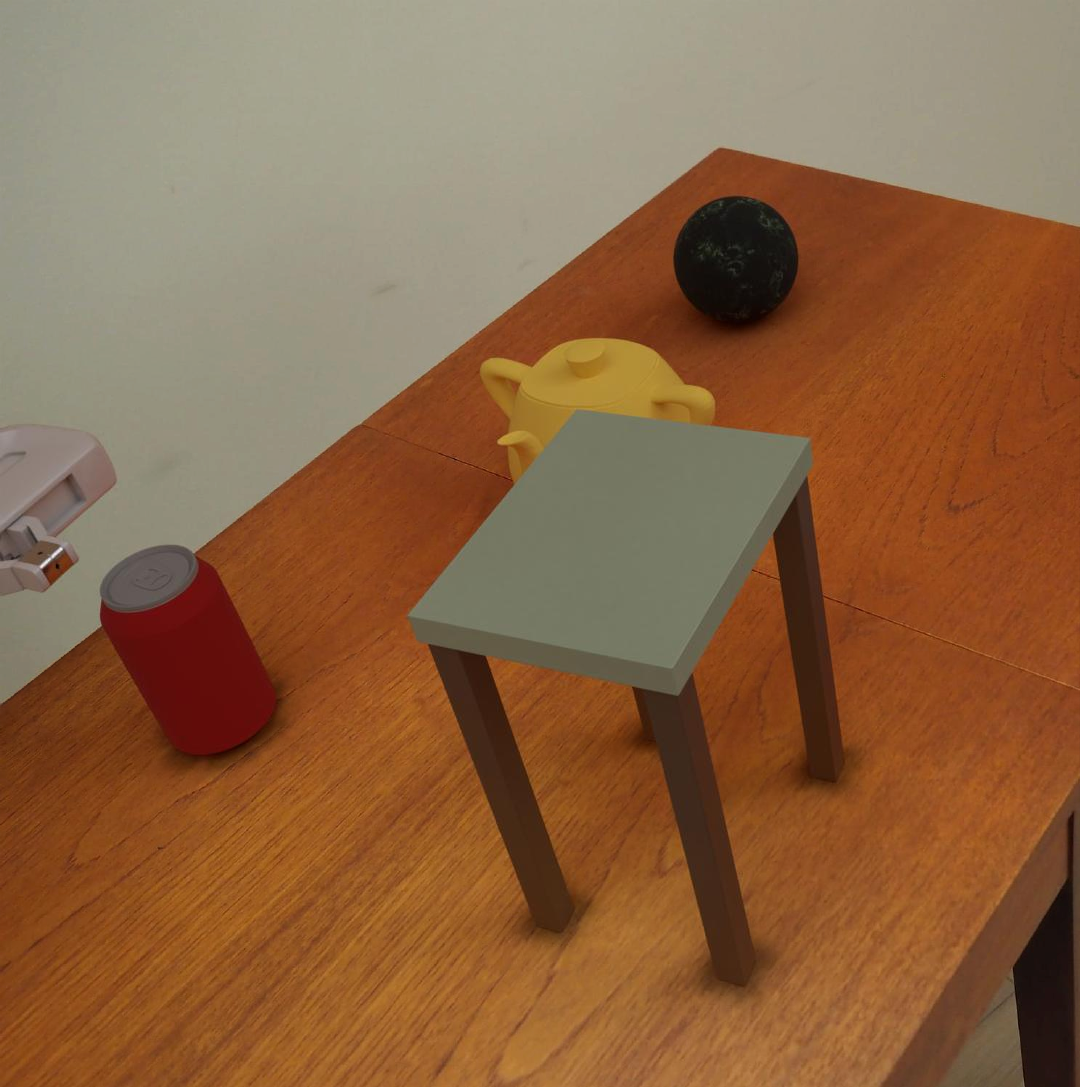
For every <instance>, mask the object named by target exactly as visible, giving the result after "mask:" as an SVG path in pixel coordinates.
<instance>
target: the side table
mask: <svg viewBox="0 0 1080 1087" xmlns="http://www.w3.org/2000/svg"><path fill="white" fill-rule="evenodd" d="M813 466H814V459H813V449H812V442H811V438H810V437H806V436H798V435H789V434H781V433H773V432H766V431H765V432H764V431H757V430H751V429H750V430H749V429H740V428H733V427H725V426H717V425H711V426H709V425H701V424H693V423H685V422H677V421H669V420H661V419H653V418H644V417H636V416H628V415H620V414H612V413H604V412H596V411H588V410H580V409H576V410H575V412H574V413H573V414H572V415H571V416H570V418H569V419H568V420H567V421H566V422H565V424H564V425H563V426H562V427H561V429H560V430H559V431H558V432H557V433H556V435H555V436H554V437H553V438H552V440H551V441H550V442H549V443H548V444H547V446H546V447H545V448H544V449H543V450H542V452H541V453H540V454H539V455H538V457H537V458H536V459H535V460H534V461H533V463H532V464H531V465H530V466H529V468H528V469H527V470H526V471H525V472H524V474H523V475H522V476H521V477H520V479H519V480H518V481H517V482H516V483H515V485H514V484H513V486H512V487H511V488H510V490H509V491H508V492H506V494H505V495H504V496H503V498H502V499H501V500H500V501H499V503H498V504H497V505H496V506H495V508H494V509H493V510H492V511H491V513H490V514H489V515H488V516H487V517H486V518H485V520H484V521H483V522H482V524H481V525H480V526H479V527H478V528H477V530H476V531H475V532H474V533H473V534H472V536H470V538H469V539H468V541H467V542H466V543H464V545H463V546H462V548H461V549H460V550H459V551H458V553H457V554H456V555H455V556H454V557H453V559H451V561H450V562H449V564H448V565H447V566H446V567H445V568H444V569H443V571H442V572H441V573H440V575H438V577H437V578H436V580H435V581H434V582H433V583H432V584H431V585H430V587H429V588H428V590H426V592H425V593H424V594H423V595H422V597H421V598H420V599H419V600H418V601H417V603H416V604H415V605H414V606H413V608H411V610H410V611H409V612H408V614H407V619H408V622H409V624H410V626H411V629H412V631H413V634H414V637H415V640H416V642H418V643H422V644H426V645H427V646H428V649H429V651H430V654H431V657H432V659H433V662H434V664H435V667H436V670H437V672H438V675H439V677H440V680H441V683H442V685H443V688H444V690H445V693H446V695H447V698H448V700H449V703H450V706H451V708H452V711H453V714H454V717H455V719H456V721H457V725H458V727H459V729H460V732H461V734H462V737H463V740H464V743H465V745H466V748H467V750H468V752H469V755H470V759H471V760H472V763H473V765H474V768H475V771H476V774H477V776H478V779H479V781H480V785H481V786H482V789H483V791H484V795H485V797H486V800H487V802H488V805H489V807H490V810H491V813H492V815H493V818H494V821H495V823H496V826H497V828H498V831H499V833H500V835H501V838H502V841H503V844H504V846H505V849H506V852H507V855H508V856H509V859H510V862H511V864H512V868H513V869H514V870H513V871H514V872H515V875H516V877H517V880H518V882H519V886H520V888H521V890H522V893H523V895H524V898H525V900H526V903H527V906H528V909H529V912H530V914H531V917H532V919H533V922H534V924H535V926H536V927H538V928H542V929H545V930H549V931H552V932H556V933H559V934H562V933H563V931H564V929H565V928H566V926H567V924H568V922H569V920H570V918H571V917H572V915H573V913H574V912H575V906H574V903H573V901H572V900H573V899H572V898H571V894H570V892H569V889H568V886H567V883H566V880H565V877H564V875H563V872H562V869H561V866H560V863H559V860H558V858H557V856H556V851H555V849H554V846H553V843H552V841H551V837H550V835H549V833H548V832H549V831H548V829H547V827H546V824H545V821H544V817H543V815H542V812H541V810H540V807H539V804H538V801H537V798H536V795H535V793H534V790H533V786H532V784H531V781H530V778H529V774H528V772H527V769H526V766H525V763H524V761H523V757H522V755H521V752H520V749H519V747H518V743H517V740H516V737H515V735H514V732H513V729H512V726H511V724H510V721H509V719H508V715H507V712H506V709H505V706H504V703H503V701H502V698H501V695H500V693H499V690H498V686H497V683H496V681H495V678H494V675H493V672H492V669H491V667H490V664H489V660H488V658H487V657H490V658H494V659H499V660H504V661H508V662H514V663H518V664H522V665H528V666H531V667H532V666H533V667H536V668H537V667H538V668H542V669H545V670H546V669H547V670H552V671H556V672H557V671H558V672H561V673H566V674H571V675H576V676H581V677H585V678H590V679H595V680H599V681H605V682H609V683H613V684H619V685H622V686H623V685H624V686H628V687H631V689H632V693H633V697H634V700H635V703H636V708H637V712H638V715H639V719H640V723H641V727H642V731H643V735H644V738H645V740H647V741H652V742H655V743H656V748H657V750H658V756H659V758H660V763H661V767H662V771H663V775H664V778H665V779H664V780H665V782H666V786H667V787H666V788H667V791H668V794H669V799H670V801H671V802H670V803H671V806H672V809H673V813H674V817H675V818H674V819H675V821H676V825H677V830H678V834H679V837H680V841H681V845H682V850H683V853H684V858H685V861H686V864H687V870H688V873H689V877H690V880H691V884H692V888H693V891H694V895H695V899H696V903H697V908H698V911H699V915H700V919H701V923H702V926H703V930H704V935H705V939H706V944H707V947H708V951H709V955H710V957H711V963H712V966H713V970H714V974H715V978H716V979H717V980H719V981H723V982H727V983H730V984H734V985H736V986H740V987H743V988H745V987H746V985H747V983H748V981H749V979H750V976H751V974H752V972H753V970H754V967H755V966H756V964H757V957H756V953H755V950H754V944H753V940H752V936H751V931H750V926H749V922H748V918H747V913H746V907H745V904H744V899H743V895H742V890H741V885H740V881H739V876H738V873H737V868H736V864H735V859H734V854H733V850H732V845H731V840H730V836H729V831H728V827H727V823H726V818H725V814H724V809H723V804H722V800H721V794H720V791H719V787H718V786H719V785H718V782H717V778H716V774H715V768H714V763H713V760H712V754H711V750H710V746H709V742H708V736H707V732H706V727H705V723H704V719H703V718H704V717H703V713H702V710H701V705H700V700H699V696H698V691H697V687H696V686H697V685H696V682H695V677H694V673H693V672H694V670H695V668H696V667H697V665H698V664H699V662H700V659H701V658H702V656H703V655H704V653H705V651H706V649H707V648H708V646H709V644H710V643H711V641H712V640H713V637H714V635H716V632H717V631H718V629H719V627H720V626H721V624H722V622H723V621H724V619H725V617H726V615H727V614H728V612H729V610H730V608H731V606H732V605H733V603H734V602H735V600H736V598H737V596H738V595H739V593H740V591H741V589H742V587H743V586H744V584H745V583H746V581H747V579H748V578H749V576H750V574H751V572H752V570H753V569H754V567H755V566H756V564H757V562H758V560H759V558H760V557H761V555H762V553H763V552H764V550H765V548H766V546H767V545H768V543H769V541H770V540H771V538H773V545H774V550H775V556H776V557H775V558H776V563H777V570H778V576H779V583H780V589H781V596H782V602H783V609H784V616H785V621H786V628H787V634H788V635H787V636H788V641H789V648H790V653H791V660H792V666H793V672H794V679H795V686H796V693H797V698H798V705H799V711H800V717H801V726H802V731H803V738H804V745H805V750H806V751H805V752H806V756H807V763H808V769H809V776H810V777H811V778H816V779H821V780H824V781H829V782H833V783H834V782H835V783H836V782H837V781H838V779H839V776H840V775H841V772H842V770H843V768H844V764H845V762H846V761H845V754H844V746H843V738H842V730H841V723H840V716H839V709H838V708H839V707H838V700H837V692H836V684H835V676H834V669H833V662H832V654H831V647H830V646H831V645H830V639H829V631H828V623H827V614H826V609H825V600H824V593H823V585H822V577H821V569H820V563H819V554H818V548H817V538H816V533H815V524H814V523H815V522H814V516H813V509H812V501H811V494H810V485H809V478H808V474H809V473H810V471H811V470H812V468H813Z"/></svg>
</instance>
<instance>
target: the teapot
mask: <svg viewBox="0 0 1080 1087" xmlns="http://www.w3.org/2000/svg"><path fill="white" fill-rule="evenodd" d="M479 375H480V376H479V377H480V378H481V381H482V383H483V386H484V387H485V389H486V391H487V393H488V394H489V396H490V397H491V398H492V400H493V401H494V403H495V404H496V405H497V406H498V408H499V409H500V411H501V412H503V413H504V415H505V416H506V417H507V419H509V424H508V430H507V433H506V434H505V435H503V436H501V437H500V438H499V439H498V440H497V442H496V443H497V445H499V446H505V447H507V459H508V461H507V462H508V468H509V472H510V476H511V480H512V482H513V486H514V485H515V483H516V482H517V481H518V480H519V479H520V477H521V476H522V475H523V474H524V472H525V471H526V470H527V469H528V468H529V466H530V465H531V464H532V463H533V461H534V460H535V459H536V458H537V457H538V455H539V454H540V453H541V452H542V450H543V449H544V448H545V447H546V446H547V444H548V443H549V442H550V441H551V440H552V438H553V437H554V436H555V435H556V433H557V432H558V431H559V430H560V429H561V427H562V426H563V425H564V424H565V422H566V421H567V420H568V419H569V418H570V416H571V415H572V414H573V413H574V412H575V410H576V409H580V410H588V411H596V412H604V413H612V414H620V415H628V416H636V417H644V418H653V419H661V420H669V421H677V422H685V423H693V424H701V425H709V426H713V422H714V419H715V414H716V400H715V398H714V396H713V394H712V393H711V392H710V391H709V390H707V389H706V388H704V387H701V386H698V385H693V384H685V383H684V382H683V380H682V379H681V377H680V376H679V375H678V374H677V372H675V370H674V369H673V368H672V367H671V366H670V364H669V363H668V362H667V361H666V360H665V359H664V358H663V357H662V356H661V355H660V354H659V353H658V352H656V351H655V350H654V349H653V348H651V347H648V346H646V345H644V344H641V343H638V342H634V341H630V340H625V339H619V338H611V337H610V338H609V337H608V338H605V337H592V338H591V337H590V338H589V337H588V338H579V339H573V340H570V341H569V340H568V341H566V342H563V343H560V344H558V345H556V346H554V348H552V349H550V350H549V351H547V353H546V354H545V355H543V356H542V357H541V358H539V360H538V361H536V363H535V364H534V365H533V366H530V365H528V364H525V363H522V362H519V361H515V360H512V359H508V358H503V357H491V358H488V359H486V360H484V361H483V362H482V364H481V365H480V368H479ZM510 381H512V382H514V383H516V384H519V386H518V390H517V392H516V391H515V389H514V387H513V386H512V384H511V382H510Z"/></svg>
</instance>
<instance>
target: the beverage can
mask: <svg viewBox="0 0 1080 1087" xmlns="http://www.w3.org/2000/svg"><path fill="white" fill-rule="evenodd" d="M99 595H100V599H101V600H100V609H99V621H100V625H101V627H102V628H103V630H104V632H105V634H106V636H107V637H108V639H109V641H110V643H111V644H112V647H113V648H114V650H115V652H116V653H117V655H118V657H119V658H120V660H121V662H122V664H123V665H124V667H125V669H126V670H127V672H128V675H129V676H130V678H131V679H132V681H133V683H134V684H135V687H136V688H137V689H138V691H139V693H140V694H141V696H142V698H143V700H144V701H145V703H146V704H147V707H148V708H149V710H150V712H151V713H152V715H153V717H154V718H155V720H156V721H157V723H158V725H159V727H160V728H161V730H162V732H163V733H164V735H165V736H166V738H167V739H168V741H169V743H170V744H171V745H172V747H174V748H175V749H177V751H180V752H182V753H184V754H188V755H195V756H206V755H213V754H217V753H218V754H219V753H221V752H224V751H228V750H230V749H233V748H234V747H237V746H239V745H241V744H243V743H244V742H246V741H247V740H249V739H250V738H252V737H253V736H255V735H256V734H257V733H258V732H259V731H260V730H261V729H262V728H263V727H264V726H266V724H267V722H268V721H269V720H270V718H271V717H272V715H273V713H274V710H275V707H276V705H277V692H276V688H275V687H274V684H273V682H272V681H271V678H270V677H269V676H270V675H269V674H268V672H267V670H266V667H265V666H264V664H263V661H262V659H261V657H260V656H259V653H258V651H257V649H256V647H255V645H254V643H253V641H252V638H251V637H250V634H249V632H248V631H247V629H246V626H245V624H244V622H243V620H242V618H241V616H240V614H239V612H238V610H237V609H236V607H235V604H234V603H233V600H232V599H231V596H230V595H229V592H228V591H227V588H226V587H225V585H224V582H223V581H222V579H221V577H220V575H219V573H218V571H217V569H216V568H215V567H214V565H212V564H210V563H209V562H207V561H205V560H204V559H202V558H200V557H199V556H197V555H195V553H194V552H193V551H192V550H191V549H190V548H188V547H185V546H183V545H179V544H160V545H155V546H151V547H147V548H144V549H141V550H139V551H136V552H134V553H132V554H130V555H129V556H127V557H125V558H123V559H122V560H121V561H119V562H118V563H117V564H115V565H114V566H113V567H112V568H110V569H109V571H108V572H107V573H106V575H105V576H104V577H103V578H102V581H101V584H100V586H99Z"/></svg>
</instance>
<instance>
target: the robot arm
mask: <svg viewBox="0 0 1080 1087" xmlns="http://www.w3.org/2000/svg"><path fill="white" fill-rule="evenodd" d="M117 483H118V476H117V474H116V469H115V467H114V465H113V462H112V460H111V458H110V456H109V454H108V453H107V450H106V449H105V447H104V445H103V444H102V443H101V441H100V440H99V438H97V437H96V436H95V435H94V434H93V433H90V432H88V431H84V430H80V429H75V428H70V427H63V426H55V425H49V424H48V425H47V424H37V423H17V424H11V425H6V426H3V427H1V428H0V597H4V596H7V595H11V594H14V593H15V594H16V593H19V592H23V591H25V590H28V591H33V592H36V593H41V594H43V593H46V591H47V590H48V589H50V587H52V586H53V585H54V584H55V583H56V582H57V581H58V580H59V579H60V578H61V577H62V576H63V575H64V574H65V573H67V572H68V571H69V570H70V569H71V568H72V567H74V566H75V565H76V564H77V563H79V561H80V557H79V556H78V554H77V552H76V550H75V549H74V547H73V545H72V544H71V542H69V541H68V540H66V539H65V538H61V537H58V536H59V535H60V534H61V533H63V532H64V531H65V530H66V529H67V528H68V527H69V526H70V525H72V524H73V523H74V522H75V521H76V520H77V519H78V518H80V516H82V515H83V514H84V513H85V512H87V511H88V509H90V508H91V507H92V506H94V504H96V502H98V501H99V500H100V499H101V498H102V497H103V496H104V495H106V494H107V493H108V492H110V491H111V489H113V488H114V487H115V485H116V484H117Z"/></svg>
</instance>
